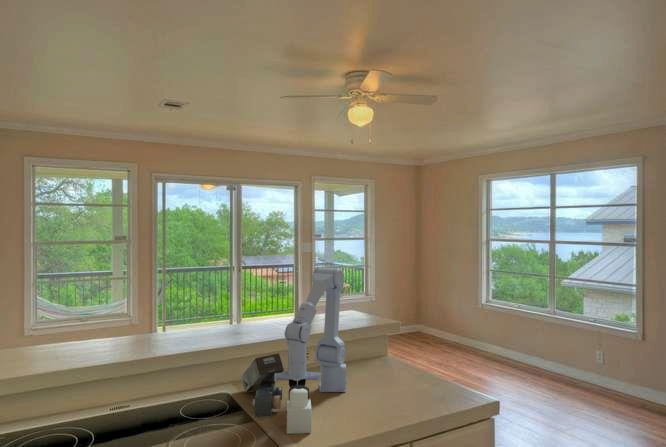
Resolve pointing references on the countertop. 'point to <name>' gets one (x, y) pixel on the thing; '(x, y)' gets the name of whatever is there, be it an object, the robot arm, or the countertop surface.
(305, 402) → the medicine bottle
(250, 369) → the coffee box
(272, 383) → the mount
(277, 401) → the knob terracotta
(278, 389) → the knob dark gray
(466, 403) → the countertop surface
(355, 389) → the countertop surface
